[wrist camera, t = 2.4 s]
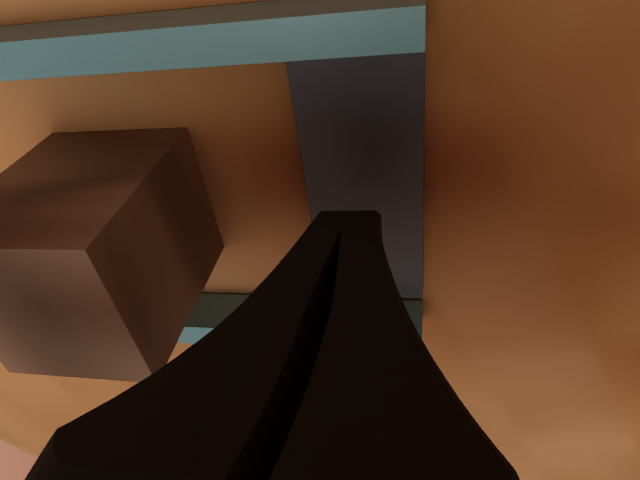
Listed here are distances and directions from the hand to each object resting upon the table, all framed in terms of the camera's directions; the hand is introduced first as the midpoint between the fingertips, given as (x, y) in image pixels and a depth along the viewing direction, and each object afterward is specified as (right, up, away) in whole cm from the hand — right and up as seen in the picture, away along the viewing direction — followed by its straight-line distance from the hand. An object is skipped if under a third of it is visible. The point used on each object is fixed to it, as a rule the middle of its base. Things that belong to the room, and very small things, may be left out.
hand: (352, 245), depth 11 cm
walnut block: (-6, +1, +3) cm, 7 cm away
